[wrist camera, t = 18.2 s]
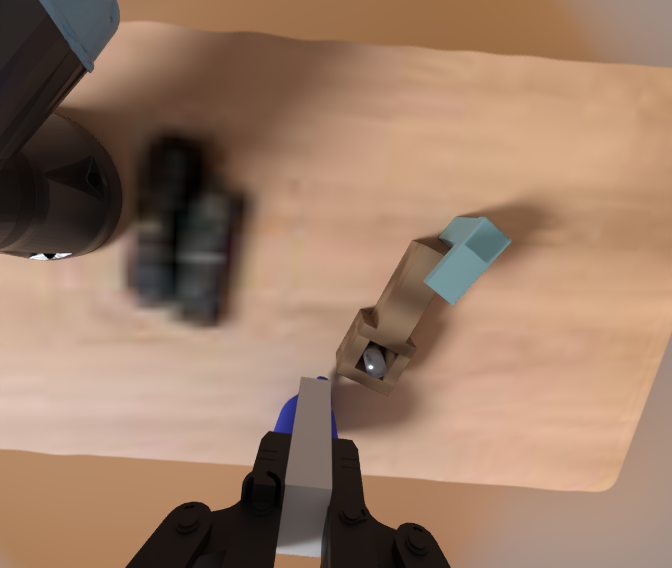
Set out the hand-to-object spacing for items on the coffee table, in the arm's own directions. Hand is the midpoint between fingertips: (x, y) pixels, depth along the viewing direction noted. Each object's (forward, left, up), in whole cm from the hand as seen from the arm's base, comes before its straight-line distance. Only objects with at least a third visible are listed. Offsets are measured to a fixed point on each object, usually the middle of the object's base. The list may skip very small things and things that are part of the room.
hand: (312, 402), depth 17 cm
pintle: (+8, -1, -22) cm, 24 cm away
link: (+8, +4, -22) cm, 24 cm away
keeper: (+8, +12, -22) cm, 27 cm away
